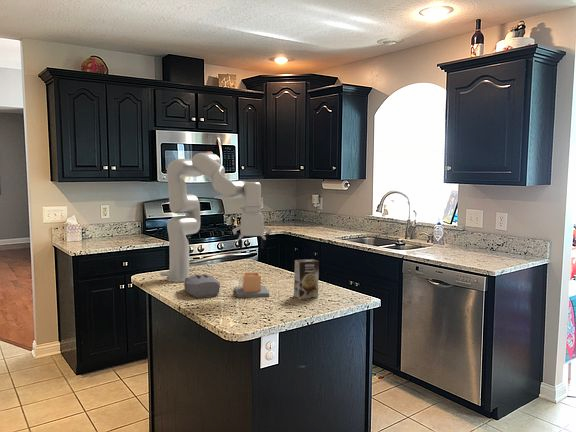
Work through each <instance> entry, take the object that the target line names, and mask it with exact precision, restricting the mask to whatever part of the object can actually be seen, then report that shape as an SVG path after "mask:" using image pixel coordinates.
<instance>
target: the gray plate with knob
mask: <svg viewBox="0 0 576 432" xmlns="http://www.w3.org/2000/svg"><path fill="white" fill-rule="evenodd" d="M234 292H235V295H236V298H261V297H263V298H265V297H266V298H267V297H268V298H269V297H270V291H269V289H268V288H267V286H266V285H261V292H244V291H243V285H241V286H237V285H236V286H234Z"/></svg>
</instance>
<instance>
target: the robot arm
mask: <svg viewBox="0 0 576 432" xmlns="http://www.w3.org/2000/svg"><path fill="white" fill-rule="evenodd" d="M225 172H226V170H225V167H224V165H222V164H221V159H220V157H219V156H218V155H217V154H215V153H208V152H199V153H195V154H194V155H193V156H192V158H190V159H188V158H178V159H174V160H172V161H170V162H169V164H168V166H167V168H166V178H167V184H168V204H169V210H170V212H171V213H173V214H177V215H178V216H174V217H171V218H170V219H169V220H168V221H167V225H166V229H167V235H168V242H169V245H168V246H169V251H168V252H169V270H166V271H160V274H159V275H160V276H161V277H166V281H167V282H171V283H184V282H185V279H186V278H187V277H189V276H191V275H190V243H189V240H188V238H187V236H188V235H194V234H197V233H199V231H200V229H201V204H200V201H199V199H198V197H197V196H196V195H195V194H191V193H188V192H187V183H186V181H185V180H184V178H183V177H189V178H190V177H191V178H193V177H194V178H196V177H202V176H204V177H206V178H207V179H209V180H210V181H211V185H212V187H213V188H214V190H215V191H216V192H218V193H219V194H220V195H221V196H223V197H224V198H227V199H243V206H242V207H239V208H240V209H239V210H240V211H242V213H241V218H240V225H239V226H237V227H235V228H233V229H232V233H233V236H234V237H235V238H236V239H238V244H237V245H238V248H239V249H240V250H243V240H242V239H243V238H244V237H260V238H261V241H260V242H261V243H260V245H261V246H260V247H261V249H263V250H264V248H265V247H266V239H267V238H269V236H270V235H271V233H272V229H271V228H268V227H266V225H265V224H264V221H265V220H264V214H263V213H262V212H261V210H262V208H261V207H262V206H261V205H262V198H261V197H262V184H261V183H260V182H258V181H246V180H229V179H227V178H226V177H225V174H226V173H225ZM179 214H184V215H180V216H179ZM264 230H265V231H267V232H266V234H265V231H264ZM237 231H240V234H238V233H237ZM264 234H265V235H264Z"/></svg>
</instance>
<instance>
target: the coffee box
mask: <svg viewBox="0 0 576 432" xmlns="http://www.w3.org/2000/svg"><path fill="white" fill-rule="evenodd" d="M319 264H320V261H319V260H316V259H313V258H311V259H310V258H308V259H295V260H294V279H293V283H294V284H293V287H294V288H293V296H294V297H295V298H298V299H299V300H302V299H303V300H305V299H312V298H311V297H316V298H319V277H320V276H319V274H320V272H319V271H320V265H319ZM304 298H305V299H304Z"/></svg>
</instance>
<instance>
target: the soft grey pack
mask: <svg viewBox="0 0 576 432" xmlns="http://www.w3.org/2000/svg"><path fill="white" fill-rule="evenodd" d="M183 283H184V284H183V287H184V290H185V291H186V292H187V294H188V295H189V296H191V297H194V298H199V299H203V298H211V297H216V296H218V295H219V293H220V288H221V283H220V281H219V280H217V279H216V278H215V277H214V276H212V275H210V274H203V273H200V274H199V273H198V274H194V275H190V276H189V277H187V278H186V279H185V282H183Z"/></svg>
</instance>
